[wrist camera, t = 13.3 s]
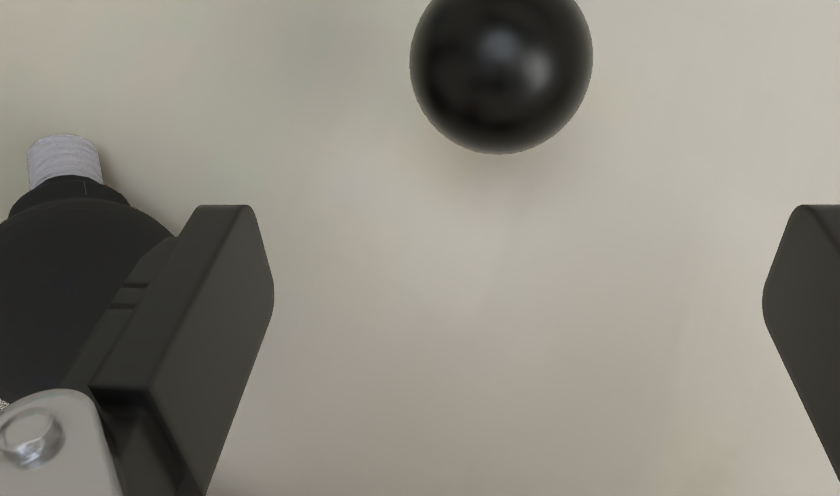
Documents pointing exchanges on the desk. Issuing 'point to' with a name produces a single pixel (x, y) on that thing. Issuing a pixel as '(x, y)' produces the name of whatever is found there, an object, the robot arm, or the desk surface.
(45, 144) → the light bulb
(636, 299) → the desk surface
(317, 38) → the desk surface
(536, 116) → the power lever
